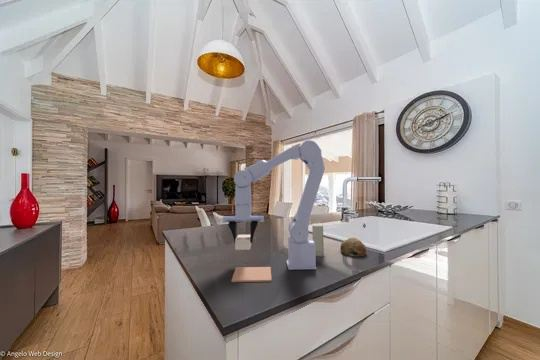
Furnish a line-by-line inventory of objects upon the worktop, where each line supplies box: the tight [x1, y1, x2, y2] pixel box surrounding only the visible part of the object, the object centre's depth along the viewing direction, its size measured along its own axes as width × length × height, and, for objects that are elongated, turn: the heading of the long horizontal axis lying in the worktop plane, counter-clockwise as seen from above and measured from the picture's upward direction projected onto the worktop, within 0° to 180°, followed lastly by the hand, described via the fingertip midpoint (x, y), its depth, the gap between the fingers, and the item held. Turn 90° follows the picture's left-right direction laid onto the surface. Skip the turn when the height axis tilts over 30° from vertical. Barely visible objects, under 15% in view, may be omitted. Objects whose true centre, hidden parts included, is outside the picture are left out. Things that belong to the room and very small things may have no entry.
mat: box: [231, 266, 272, 283], centre depth 71 cm, size 12×10×1 cm
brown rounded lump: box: [340, 237, 367, 257], centre depth 92 cm, size 10×10×8 cm
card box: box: [234, 234, 252, 251], centre depth 79 cm, size 5×7×4 cm
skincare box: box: [311, 223, 325, 257], centre depth 90 cm, size 6×4×12 cm
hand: (243, 242), depth 79 cm, fingers closed on card box, 5 cm apart
